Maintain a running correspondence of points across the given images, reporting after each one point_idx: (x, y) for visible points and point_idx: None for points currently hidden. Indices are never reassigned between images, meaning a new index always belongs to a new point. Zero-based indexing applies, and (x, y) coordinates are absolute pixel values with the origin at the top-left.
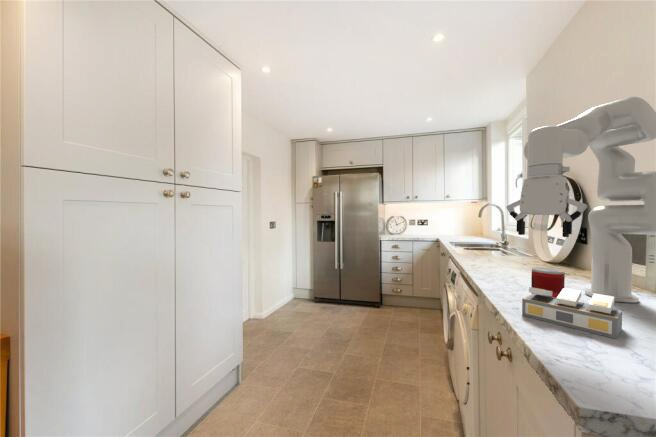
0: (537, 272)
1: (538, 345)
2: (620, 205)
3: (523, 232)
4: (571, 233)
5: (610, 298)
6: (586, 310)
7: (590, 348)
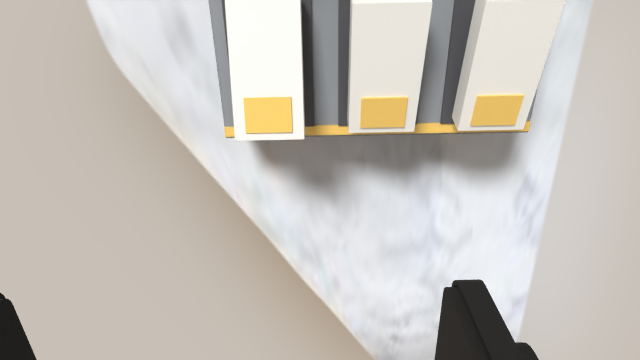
0: None
1: (352, 304)
2: None
3: (11, 356)
4: (522, 348)
5: (544, 32)
6: (443, 120)
7: (441, 235)
